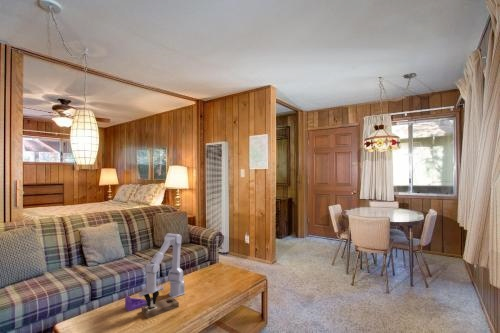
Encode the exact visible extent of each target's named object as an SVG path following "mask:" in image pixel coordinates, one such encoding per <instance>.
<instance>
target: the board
mask: <svg viewBox="0 0 500 333" xmlns="http://www.w3.org/2000/svg"><path fill="white" fill-rule="evenodd" d="M179 306H180V304H179V301H178V300H177V299H175V297H174V298H173V297H171V296H170V297H166V298H164V299H161V300H158V301H157V300H156V302H155V304H154V308H153V309H150V306H149V307H148V306H147V305H146V306H143V307H141V313H142V314H143V315H144V316H145V318H147V319H148V320H149V319H150V318H154V317H156V316H159V315H162V314H164V313H166V312H168V311H172V310H175V309H177V308H179Z"/></svg>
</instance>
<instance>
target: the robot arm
mask: <svg viewBox="0 0 500 333" xmlns="http://www.w3.org/2000/svg"><path fill="white" fill-rule="evenodd" d="M182 238H183V237H182V235H181V234H179V233H170V232H168V233H166V235H164V238H163V239H164V240H163V241H164V242H163V243H162V245H161V247H160V249H159V251H157V252H155V254H154V255H153V257H152V259H151V260H150V261H149V262H148V263H146V264H145V267H144V269H143V270H144V272H145V276H146V289H144V290H143V291H141V292H138V297H139V298H142V297H144V298H145V299H144V300H145V301H146V302H147V306H148V307H149V306H150V298H151V295H152V297H153V298H154V300H153V302H154V304H155V302H157V299H158V297H159V295H160V292H159V291H164V286H162V285H161V286H157V272H158V271H159V268H160V264H161V263H162V261H163V259H164V255H165V253H166V252H167V251H168V249H169V248H170V246H172V259H171V260H172V261H171V263H172V264H171V268H170V269H169V270H168V274H167V280H168V281H169V284H170V288H169V292H168V293H167V295H168V296H170V297H173V298H174V299H175V298H177V297H180V296H182V295H185V294H186V292H185V290H186V289H185V286H186V285H185V282H184V271H183V269H182V268H181V247H182V246H181V245H182V240H183V239H182ZM150 294H151V295H150Z"/></svg>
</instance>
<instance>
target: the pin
mask: <svg viewBox="0 0 500 333" xmlns="http://www.w3.org/2000/svg"><path fill="white" fill-rule="evenodd" d="M153 300H154V298H153V296H150V309H153V308H154V302H153Z"/></svg>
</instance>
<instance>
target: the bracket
mask: <svg viewBox="0 0 500 333" xmlns="http://www.w3.org/2000/svg"><path fill="white" fill-rule="evenodd" d="M124 301H125V303H124V308H125V310H126V311H127V312H132V311H135V310H137V309H142V307H143V306H146V305H147V302H146V299H144V298H133V297H130V296H129V295H127V296H125V300H124Z"/></svg>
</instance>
